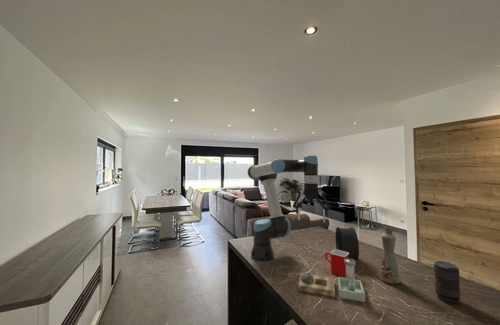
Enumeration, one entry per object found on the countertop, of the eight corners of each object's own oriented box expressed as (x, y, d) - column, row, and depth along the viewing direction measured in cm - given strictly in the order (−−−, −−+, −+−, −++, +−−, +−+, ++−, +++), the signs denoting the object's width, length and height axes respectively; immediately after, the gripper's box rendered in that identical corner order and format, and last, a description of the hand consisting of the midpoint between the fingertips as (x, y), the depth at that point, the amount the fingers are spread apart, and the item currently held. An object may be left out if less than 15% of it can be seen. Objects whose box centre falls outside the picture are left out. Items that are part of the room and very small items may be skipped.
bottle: (401, 287, 99) (399, 228, 101) (379, 282, 104) (377, 226, 105) (399, 279, 107) (397, 224, 108) (379, 274, 112) (377, 222, 113)
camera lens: (430, 294, 93) (428, 261, 94) (446, 293, 94) (445, 260, 95) (448, 306, 85) (447, 269, 86) (466, 305, 86) (464, 268, 87)
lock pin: (345, 293, 94) (344, 261, 94) (344, 287, 98) (343, 257, 99) (357, 295, 92) (356, 263, 93) (355, 289, 97) (354, 259, 97)
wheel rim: (359, 267, 121) (358, 232, 121) (342, 265, 122) (342, 231, 123) (350, 253, 140) (349, 224, 141) (335, 252, 142) (335, 223, 143)
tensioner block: (298, 290, 97) (298, 281, 98) (301, 277, 109) (301, 269, 109) (335, 297, 92) (334, 287, 92) (333, 283, 103) (333, 274, 103)
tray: (339, 298, 91) (339, 289, 91) (338, 284, 103) (338, 276, 103) (365, 302, 88) (365, 294, 88) (360, 287, 99) (360, 280, 99)
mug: (350, 272, 115) (349, 252, 115) (345, 277, 109) (344, 257, 109) (328, 265, 123) (328, 247, 123) (323, 270, 117) (322, 251, 117)
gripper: (287, 182, 117) (287, 220, 116) (335, 183, 109) (335, 224, 108) (289, 182, 124) (289, 217, 123) (334, 183, 116) (334, 221, 115)
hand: (311, 220), depth 116 cm, fingers open, 13 cm apart
